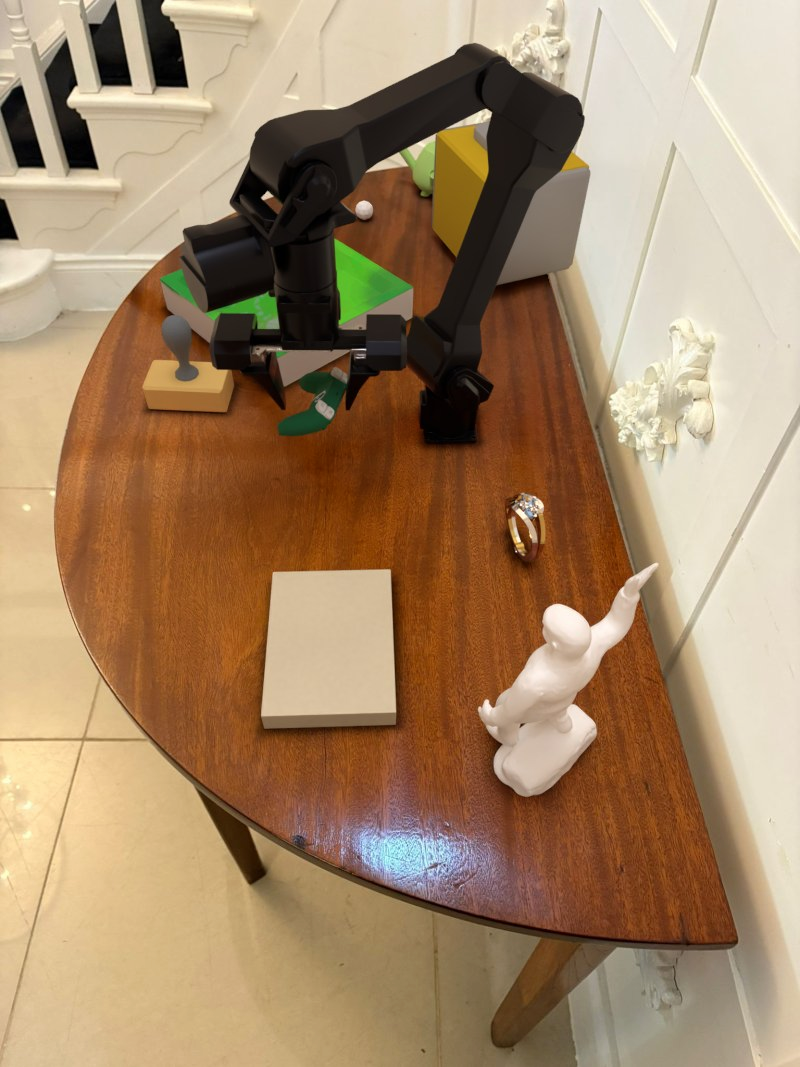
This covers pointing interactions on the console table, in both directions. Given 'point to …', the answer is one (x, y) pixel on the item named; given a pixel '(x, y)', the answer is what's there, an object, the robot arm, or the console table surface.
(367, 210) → the polyhedron
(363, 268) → the tray
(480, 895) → the console table surface
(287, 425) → the green curved piece
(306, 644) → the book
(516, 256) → the alarm clock
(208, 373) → the rubber stamp
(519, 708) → the figurine
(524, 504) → the ring
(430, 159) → the teapot
